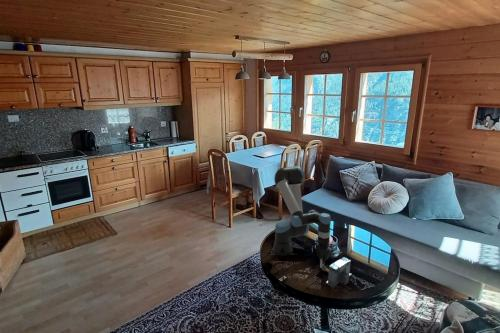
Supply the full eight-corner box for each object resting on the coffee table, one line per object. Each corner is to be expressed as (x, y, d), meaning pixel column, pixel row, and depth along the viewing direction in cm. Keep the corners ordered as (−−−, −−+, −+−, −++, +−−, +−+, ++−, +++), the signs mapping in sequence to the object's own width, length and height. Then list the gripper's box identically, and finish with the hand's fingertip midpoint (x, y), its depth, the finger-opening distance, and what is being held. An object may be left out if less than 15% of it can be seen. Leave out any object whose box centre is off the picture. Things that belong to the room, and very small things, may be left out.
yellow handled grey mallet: (321, 270, 197) (321, 263, 195) (324, 268, 199) (325, 261, 198) (345, 285, 182) (345, 276, 181) (348, 282, 185) (349, 274, 183)
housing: (325, 283, 184) (326, 266, 181) (344, 271, 196) (345, 255, 193) (332, 287, 180) (334, 271, 177) (351, 275, 192) (352, 259, 189)
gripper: (312, 234, 195) (311, 264, 201) (328, 241, 185) (326, 273, 191) (319, 231, 199) (318, 261, 205) (335, 238, 189) (333, 269, 195)
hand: (322, 267), depth 198 cm, fingers closed
